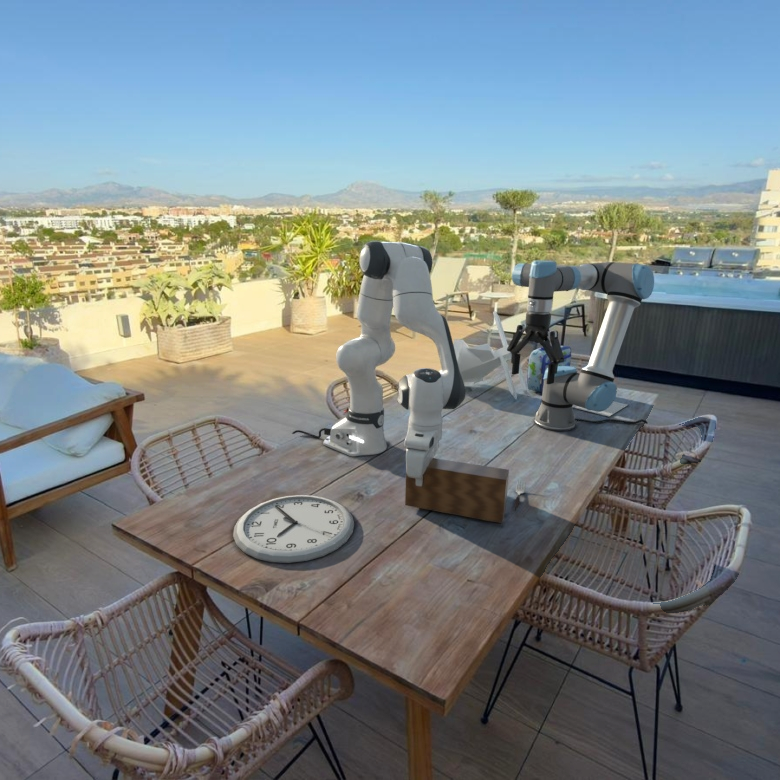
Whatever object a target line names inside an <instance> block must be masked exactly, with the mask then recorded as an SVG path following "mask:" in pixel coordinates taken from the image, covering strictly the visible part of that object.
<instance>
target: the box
mask: <svg viewBox="0 0 780 780" xmlns="http://www.w3.org/2000/svg"><path fill="white" fill-rule="evenodd" d="M509 474H510V469H506V468H501V467H494V466H488V465H483V464H482V465H481V464H475V463H469V462H468V463H467V462H463V461H462V462H461V461H454V460H448V459H442V458H437V457H434V458H433V459H432V460H431V462H430V464H429V465H428V467H427V469H426V471H425V472H424V474H423V478H424V480H423V485H422V486H416V479H415V478H410V477H408V475H407V472H406V471H405V499H404V500H405V501H404V506H406V507H412V508H417V509H423V510H429V511H434V512H439V513H444V514H450V515H455V516H461V517H466V518H471V519H476V520H483V521H487V522H493V523H498V524H503V523H504V519H505V514H506V509H507V507H506V506H507V497H508V487H509V477H510V476H509Z"/></svg>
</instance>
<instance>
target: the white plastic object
mask: <svg viewBox="0 0 780 780" xmlns="http://www.w3.org/2000/svg"><path fill="white" fill-rule="evenodd" d="M492 315H493V319H494V321H495V324H496V325H495V326H496V328H497V332H498V335H499V338H500V342H501V345H502V347H500V348H498V349H496V350H495V349H493V348H492V347H491V346H490V344H489V343H488V342H487V343H483V344H479V345H473V346H469V345H468V343H466V342H465V340H464V339H463V338H460V339H458V338H454V340H453V345H454V350H455V354H456V358H457V362H458V367H459V370H460V373H461V376H462V379H463V382H464V384H467V383H468V384H469V383H473V384H477V383H480V382H482V381H484V378H485V377H486V376H487V375H489V374H490V373H492V372H494V371H495V370H496V369H497V368H499V367H500V366H502V370H503V373H504V376H505V380H506V383H507V386H508V390H509V393H510V394H511V395H512V397H513V398H514V399H515V400H517V392H516V391H517V390H516V388H515V385H514V381H513V378H512V374H511V371H510V369H509V365H508V361H511V358H512V354H511V352H509V351H507V348H508V346H509V344H508V341H507V337H506V334H505V331H504V328H503V325H502V321H501V318H500V315H499V314H498V312H497V311H496V310H495V311H492ZM522 368H523V367H522V366H521V364H520V365H519V373H518V374H517V376H518V380H519V382H520V385H521V389H522V391H523V393H524V395H525V396H526V397H528V396H531V395H530V390H529V389H528V387H527V380H526V378H525V375H524V371H523V369H522ZM438 372H440V373H442V368H441V369H440V370H439V371H438Z"/></svg>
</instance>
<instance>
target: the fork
mask: <svg viewBox="0 0 780 780" xmlns="http://www.w3.org/2000/svg"><path fill="white" fill-rule="evenodd" d="M526 484H527V481H525V482H524V483H522V480H519V479H518V480H517V484H516V486H515V487H516V488H515V492H516V493H517V496H516V498H515V500H514V511H516V510H517V508H518V506H519V505H520V502H521V501H520V500H521V495H522V494H525V492H526Z"/></svg>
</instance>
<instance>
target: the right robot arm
mask: <svg viewBox="0 0 780 780" xmlns="http://www.w3.org/2000/svg"><path fill="white" fill-rule="evenodd" d="M511 281H512V283H513V284H514V285H516V286H519V287H522V288H524V287H525V288H528V293H527V301H526V302H527V303H526V311H527V312H526V313H525V321H524V323H525V324H518V325H517V326H516V329H515V332H514V334H513V337H512V338H511V340H510V342H509V344H508V345H509V346H508V348H507V351H509V352H511V354H512V358H511V360H510V363H511V364H512V365H511V375H513V376H514V375H518V373H519V365H521V353H520V352H521V351H522V350H523V349H524V348H525V347H526V345H527V344H528V343H530V342H531V343H536V344H539V345H540V346H541V347H543V348H544V350H545V352H546V354H547V356H548V358H549V359H550V361H551V363H549V365H548V368H547V369H546V371H545V375H544V378H543V379H544V381H543V392H542V393H541V402H540V405H539V407H538V410H537V411H536V413H535V417H534V424H535V425H536V426H537V427H539V428H542V429H544V430H549V431H556V432H567V431H572V430H574V429H575V428H576V422H581V423H586V424H601V423H609V422H611V423H620V424H626V425H637V424H639V423H644V424H646V425H647V424H648V421H647V420H646V419H643V418H641V419H638V420H635V421H630V420H628V421H627V420H621V419H614V418H613V419H612V418H606V419H600V420H589V419H585V418H584V419H582V418H577V417H576V416H575V413H574V407H573V406H575V407H576V406H579V407H582V408H585V409H587V410H592V411H596V412H601V411H604V410H606V409H607V408H608V407H609V406H610V405H611V404H612V403H613V401H614V402H615V399H616V397H617V394H618V392H617V390H618V387H617V384H616V383H615V382H614V380H615V376H614V374H613V371H614V368H615V364H616V362H617V359H618V356H619V354H620V350H621V347H622V344H623V341H624V339H625V336H626V334H627V333H626V332H627V330H628V327H629V326H630V325H629V324H630V321H631V319H632V316H633V313H634V310H635V309H636V308H638V307H639V306H641V304H642V301H643V300H647V299H649V298H650V296H651V295H652V294H653V292H654V288H655V276H654V272H653V270H652V268H651V267H650V266H649V265H648V264H640V263H638V262H635V263H631V262H630V263H629V262H628V263H627V262H614V261H604V262H603V261H602V262H592V263H587V262H585V263H582V264H580V265H564V264H557V262H556V261H554V260H534V261H532V262H531V263H526V262H525V263H522V262H521V263H517V264H516V265H514V267H513V268H512V271H511ZM577 288H578V290H580V291H581V290H582V291H590V292H594V293H598V294H603V295H606V300H607V301H608V305H607V308H606V311H605V314H604V317H603V320H602V322H601V326H600V328H599V332H598V333H597V336H596V339H595V343H594V345H593V349H592V351H591V355H590V357H589V360H588V362H587V365H586V366H584V367H582V368H581V370H580V373H578V368H577V367H576V366H571V365H570V366H558V364H559V363H562V362H564V361H565V360H564V356H563V353H562V349H561V346H562V345H561V343H560V340H559V330H550V327H551V323H552V321H551V320H552V314H551V312H552V311H553V303H554V294H555V292H556V293H557V292H569V291H573V290H576V289H577ZM524 333H525V335H524ZM523 335H524V336H523ZM522 336H523V337H522ZM521 338H522V339H521ZM551 345H552V346H551ZM575 417H576V418H575Z"/></svg>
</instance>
